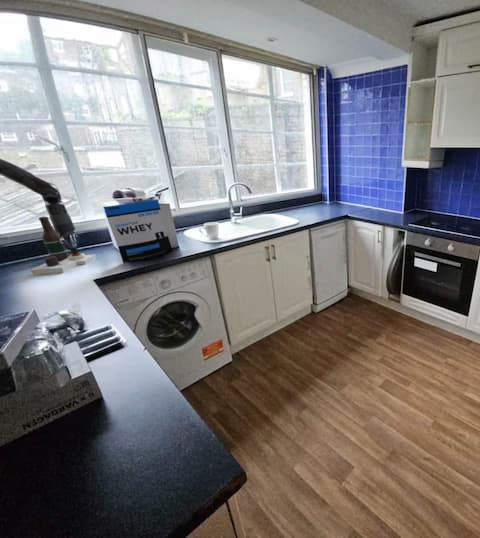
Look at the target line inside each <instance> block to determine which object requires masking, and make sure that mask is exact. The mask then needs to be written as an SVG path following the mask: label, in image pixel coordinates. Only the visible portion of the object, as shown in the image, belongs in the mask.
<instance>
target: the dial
mask: <svg viewBox="0 0 480 538" xmlns="http://www.w3.org/2000/svg"><path fill="white" fill-rule="evenodd" d="M43 260H44V262H45V263H46V264H47V266H48V267H51V266H56V265H59V262H60V261H58V260H57V257H56V256H51V257H50V256H47V257H44V258H43Z"/></svg>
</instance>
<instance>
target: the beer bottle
mask: <svg viewBox="0 0 480 538" xmlns="http://www.w3.org/2000/svg"><path fill="white" fill-rule="evenodd" d="M38 220H39V222H40V224H41V227H42V229H43V234H42V241H43V244H44V246H45V248H46V250H47V253H48V255H49V257H51V256H56V257H57V260H58V262H61V261H63V260H65V259H67V258H68V256H70V255H71V254H70V252H69V248H65V247H64V246H63V245H61V244H60V243H59V242H58V240H60V239H61V238H60V234H59V233H57V232H56V231H55V229H54V227H53V224H52V222H51V221H50V217H48V216H40V217H38Z"/></svg>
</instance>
